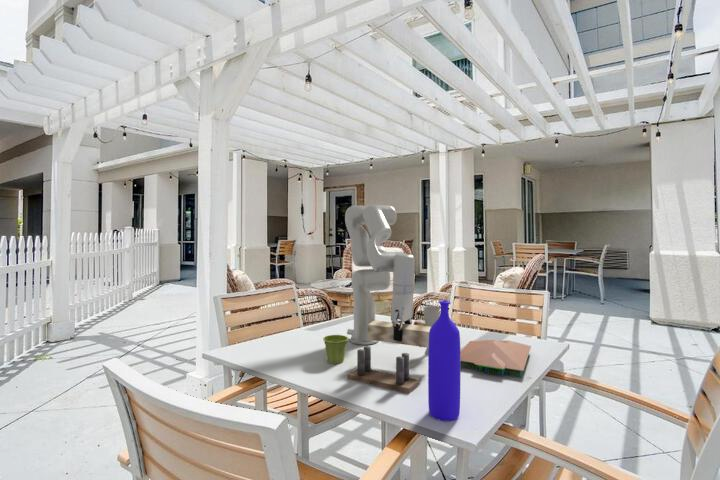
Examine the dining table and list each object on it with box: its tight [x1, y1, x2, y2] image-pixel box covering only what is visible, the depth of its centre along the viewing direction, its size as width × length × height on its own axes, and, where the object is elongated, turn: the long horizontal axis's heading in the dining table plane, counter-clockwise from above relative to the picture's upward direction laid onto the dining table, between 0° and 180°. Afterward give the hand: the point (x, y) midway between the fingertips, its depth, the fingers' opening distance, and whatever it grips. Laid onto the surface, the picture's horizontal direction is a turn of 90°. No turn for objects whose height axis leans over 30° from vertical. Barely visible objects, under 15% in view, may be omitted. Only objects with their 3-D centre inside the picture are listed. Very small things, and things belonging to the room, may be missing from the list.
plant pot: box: [322, 334, 349, 365], centre depth 141 cm, size 9×9×9 cm
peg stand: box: [347, 345, 421, 394], centre depth 122 cm, size 22×8×10 cm, turn 59°
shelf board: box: [368, 319, 431, 349], centre depth 136 cm, size 24×6×6 cm, turn 68°
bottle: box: [427, 299, 461, 422], centre depth 100 cm, size 8×8×30 cm
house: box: [460, 339, 532, 379], centre depth 141 cm, size 23×33×8 cm
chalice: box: [422, 305, 441, 355], centre depth 151 cm, size 7×7×18 cm
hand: (402, 337), depth 136 cm, fingers closed on shelf board, 7 cm apart
